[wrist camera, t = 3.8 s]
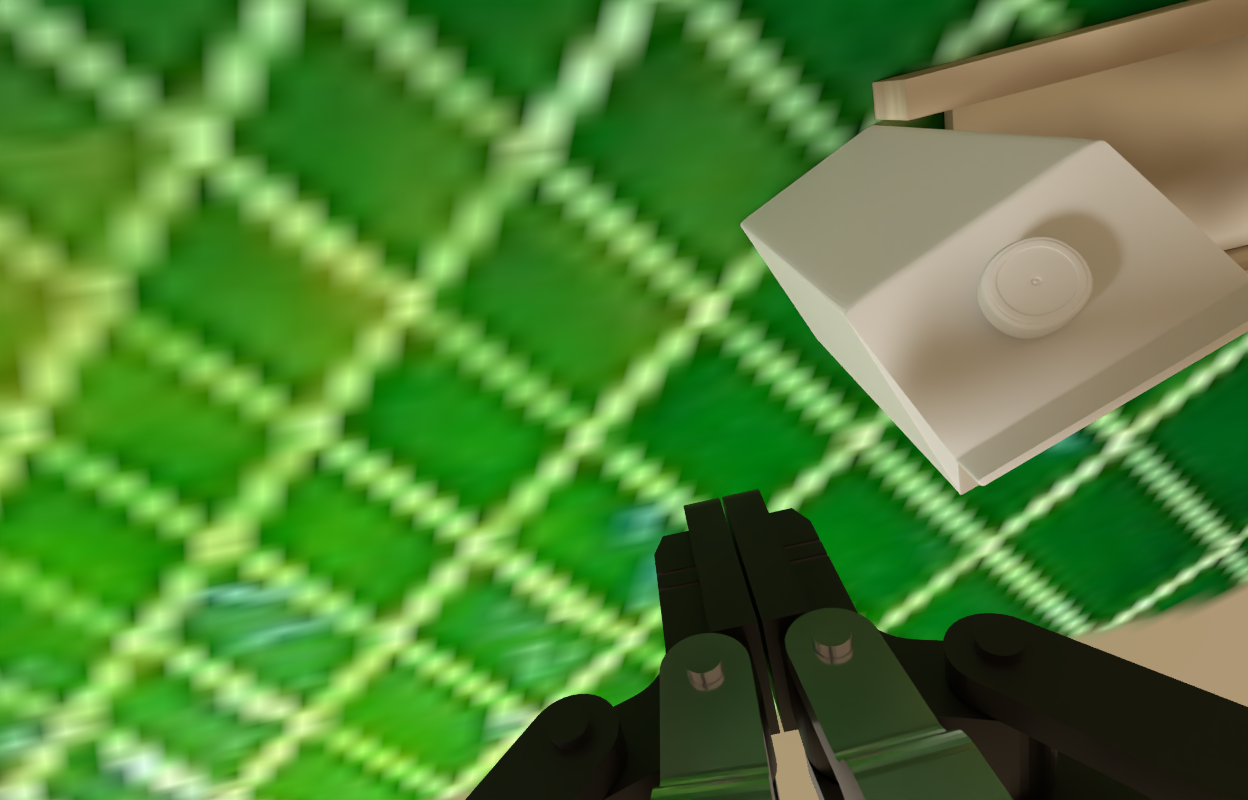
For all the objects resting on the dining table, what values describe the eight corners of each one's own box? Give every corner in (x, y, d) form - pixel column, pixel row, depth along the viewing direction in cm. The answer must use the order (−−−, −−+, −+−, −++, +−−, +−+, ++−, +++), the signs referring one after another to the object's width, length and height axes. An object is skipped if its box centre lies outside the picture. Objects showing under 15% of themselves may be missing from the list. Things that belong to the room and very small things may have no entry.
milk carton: (943, 251, 32) (1345, 420, 15) (815, 338, 34) (1042, 584, 16) (871, 122, 30) (1249, 144, 12) (737, 223, 31) (905, 366, 14)
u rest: (872, 82, 29) (905, 79, 26) (1471, -73, 27) (1586, -97, 24) (894, 350, 34) (925, 375, 31) (1403, 232, 32) (1491, 246, 29)
